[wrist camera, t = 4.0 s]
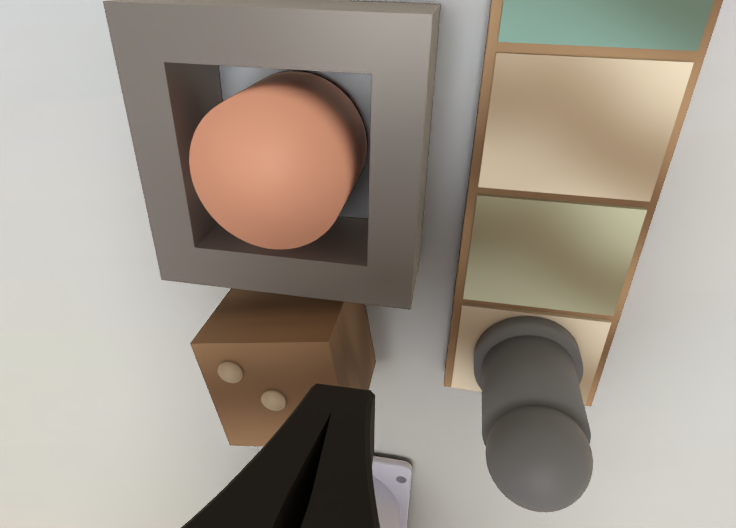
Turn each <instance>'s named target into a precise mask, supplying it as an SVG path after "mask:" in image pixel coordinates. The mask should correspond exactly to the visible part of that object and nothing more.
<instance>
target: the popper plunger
mask: <svg viewBox="0 0 736 528" xmlns="http://www.w3.org/2000/svg"><path fill="white" fill-rule="evenodd" d="M366 153H367V138H366V133H365V128H364V125H363V122H362V119H361V117H360V115H359V113H358V111H357V109H356V108H355V106H354V104H353V103H352V102H351V100H350V99H349V98H348V97H347V96H346V95H345V94H344V93H343V92H342V91H341V90H340V89H339V88H338V87H336V86H335V85H334V84H333V83H331V82H329V81H327V80H326V79H324V78H322V77H319V76H317V75H314V74H310V73H307V72H300V71H286V72H280V73H276V74H273V75H270V76H268V77H266V78H264V79H262V80H260V81H259V82H257V83H255V84H253V85H252V86H250V87H248V88H246V89H245V90H243V91H241V92H239V93H238V94H236V95H234V96H232V97H231V98H229V99H227V100H225V101H224V102H222V103H220V104H218V105H217V106H216V107H214V108H213V109H211V110H210V111H209V112H208V113H207V114H206V115H205V116H204V118H203V119H202V120H201V122H200V123H199V125H198V127H197V128H196V130H195V132H194V135H193V138H192V141H191V146H190V153H189V165H190V173H191V178H192V182H193V185H194V187H195V190H196V193H197V195H198V197H199V199H200V201H201V202H202V204H203V205H204V207H205V209H206V210H207V211H208V212H209V214H210V215H211V216H212V217H213V218H214V219H215V221H216V222H217V223H218V224H219V225H221V226H222V227H223V228H224V229H225V230H227V231H228V232H229V233H231V234H232V235H234V236H235V237H237V238H239V239H241V240H243V241H245V242H247V243H250V244H252V245H255V246H259V247H262V248H268V249H281V250H282V249H292V248H297V247H301V246H304V245H307V244H309V243H311V242H313V241H315V240H317V239H318V238H319V237H321V236H322V235H323V234H324V233H326V232H327V231H328V230H329V229H330V227H331V226H332V225H333V223H334V222H335V221H336V219H337V217H338V215H339V213H340V212H341V210H342V208H343V206H344V204H345V202H346V200H347V198H348V197H349V195H350V193H351V191H352V189H353V187H354V185H355V184H356V182H357V180H358V178H359V176H360V174H361V172H362V170H363V167H364V164H365V160H366Z"/></svg>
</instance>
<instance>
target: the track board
mask: <svg viewBox="0 0 736 528" xmlns="http://www.w3.org/2000/svg"><path fill="white" fill-rule="evenodd" d="M722 2H723V0H491V6H490V14H489V22H488V30H487V38H486V46H485V54H484V62H483V70H482V78H481V86H480V94H479V102H478V110H477V118H476V126H475V134H474V142H473V150H472V158H471V166H470V174H469V182H468V190H467V198H466V206H465V214H464V222H463V230H462V238H461V246H460V254H459V262H458V270H457V278H456V286H455V294H454V302H453V310H452V318H451V326H450V334H449V342H448V350H447V358H446V366H445V377H444V386H448V387H451V388H458V389H465V390H472V391H479V392H482V390H481V389H480V387H479V386H478V384H477V382H476V379H475V376H474V349H475V345H476V343H477V341H478V339H479V338H480V336H481V335H482V334H483V333H484V331H486V330H487V329H488V328H489V327H491V326H492V325H493V324H495V323H497V322H499V321H502V320H504V319H507V318H511V317H517V316H537V317H543V318H546V319H549V320H552V321H554V322H556V323H558V324H560V325H562V326H563V327H564V328H566V329H567V330H568V331H569V332H570V333H571V334H572V336H573V337H574V338H575V340H576V342H577V344H578V347H579V350H580V354H581V358H582V362H583V377H582V380H581V382H580V384H579V386H580V390H581V395H582V399H583V403H584V406H591V405H592V402H593V398H594V395H595V392H596V389H597V386H598V383H599V380H600V377H601V374H602V371H603V368H604V365H605V362H606V359H607V355H608V352H609V349H610V346H611V343H612V340H613V337H614V334H615V331H616V328H617V325H618V322H619V319H620V316H621V312H622V309H623V306H624V303H625V300H626V297H627V294H628V291H629V288H630V285H631V282H632V279H633V276H634V272H635V269H636V266H637V263H638V260H639V257H640V254H641V251H642V248H643V245H644V242H645V239H646V236H647V233H648V229H649V226H650V223H651V220H652V217H653V214H654V211H655V208H656V205H657V202H658V199H659V196H660V193H661V190H662V186H663V183H664V180H665V177H666V174H667V171H668V168H669V165H670V162H671V159H672V156H673V153H674V150H675V147H676V143H677V140H678V137H679V134H680V131H681V128H682V125H683V122H684V119H685V116H686V113H687V110H688V107H689V103H690V100H691V97H692V94H693V91H694V88H695V85H696V82H697V79H698V76H699V73H700V70H701V67H702V64H703V60H704V57H705V54H706V51H707V48H708V45H709V42H710V39H711V36H712V33H713V30H714V27H715V24H716V21H717V17H718V14H719V11H720V8H721V5H722Z"/></svg>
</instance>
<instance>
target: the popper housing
mask: <svg viewBox="0 0 736 528" xmlns="http://www.w3.org/2000/svg"><path fill="white" fill-rule="evenodd" d="M103 3H104V8H105V13H106V18H107V22H108V27H109V32H110V37H111V41H112V46H113V51H114V56H115V60H116V65H117V70H118V75H119V79H120V84H121V89H122V94H123V98H124V103H125V108H126V113H127V117H128V122H129V127H130V132H131V136H132V141H133V146H134V151H135V155H136V160H137V165H138V170H139V174H140V179H141V184H142V189H143V193H144V198H145V203H146V208H147V212H148V217H149V222H150V227H151V231H152V236H153V241H154V246H155V250H156V255H157V260H158V265H159V269H160V274H161V279H162V280H167V281H176V282H184V283H192V284H201V285H209V286H217V287H226V288H234V289H243V290H251V291H259V292H268V293H276V294H284V295H293V296H301V297H310V298H318V299H326V300H335V301H343V302H351V303H360V304H368V305H377V306H385V307H393V308H402V309H411V303H412V298H413V293H414V288H415V282H416V277H417V272H418V266H419V261H420V252H421V239H422V227H423V215H424V203H425V190H426V178H427V166H428V154H429V141H430V129H431V117H432V105H433V92H434V80H435V68H436V56H437V43H438V31H439V19H440V7H441V4H430V3H403V2H376V1H349V0H111V1H103ZM218 65H222V66H240V67H258V68H275V69H293V70H311V71H328V72H346V73H364V74H372V89H371V132H370V175H369V217H368V219H361V218H351V217H340V216H338V217H337V219H336V221H335V222H334V223H333V225H332V226H331V227H330V229H329V230H328V231H327V232H326V233H324V234H323V235H322V236H321V237H319V238H318V239H317V240H315V241H313V242H311V243H309V244H307V245H304V246H301V247H297V248H292V249H282V250H281V249H268V248H262V247H259V246H255V245H252V244H250V243H247V242H245V241H243V240H241V239H239V238H237V237H235V236H234V235H232V234H231V233H229V232H228V231H227V230H225V229H224V228H223V227H222V226H221V225H219V224H218V223H217V222H216V221H215V219H214V218H213V217H212V216H211V215H210V214H209V212H208V211H207V210H206V209H205V207H204V205H203V204H202V202H201V201H200V199H199V197H198V195H197V193H196V190H195V187H194V185H193V182H192V178H191V173H190V165H189V153H190V146H191V141H192V138H193V135H194V132H195V130H196V128H197V127H198V125H199V123H200V122H201V120H202V119H203V118H204V116H205V115H206V114H207V113H208V112H209V111H210V110H211V109H213V108H214V107H216V106H217V105H218V104H220V103H222V94H221V85H220V77H219V68H218Z"/></svg>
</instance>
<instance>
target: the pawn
mask: <svg viewBox="0 0 736 528" xmlns="http://www.w3.org/2000/svg"><path fill="white" fill-rule="evenodd" d="M474 376H475V379H476V382H477V384H478V386H479V387H480V389H481V390H482V436H483V441H484V444H485V446H486V461H487V466H488V469H489V473H490V475H491V477H492V479H493V481H494V483H495V484H496V486H497V487H498V488H499V490H500V491H501V492H502V493H503V494H504V495H505V496H506V497H507V498H508V499H510V500H511V501H512V502H514V503H515V504H517V505H519V506H521V507H523V508H526V509H528V510H532V511H537V512H553V511H558V510H561V509H563V508H566V507H568V506H570V505H571V504H573V503H574V502H575V501H577V500H578V499H579V498H580V497H581V496H582V494H583V493H584V491H585V490H586V488H587V486H588V484H589V482H590V479H591V475H592V469H593V458H592V452H591V448H590V445H589V444H590V439H591V433H590V428H589V424H588V420H587V415H586V411H585V407H584V403H583V399H582V395H581V390H580V386H579V384H580V382H581V380H582V377H583V362H582V358H581V354H580V350H579V347H578V344H577V342H576V340H575V338H574V337H573V336H572V334H571V333H570V332H569V331H568V330H567V329H566V328H564V327H563V326H562V325H560V324H558V323H556V322H554V321H552V320H549V319H546V318H543V317H537V316H517V317H511V318H507V319H504V320H502V321H499V322H497V323H495V324H493V325H492V326H491V327H489V328H488V329H487V330H486V331H484V333H483V334H482V335H481V336H480V338H479V339H478V341H477V343H476V345H475V349H474Z"/></svg>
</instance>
